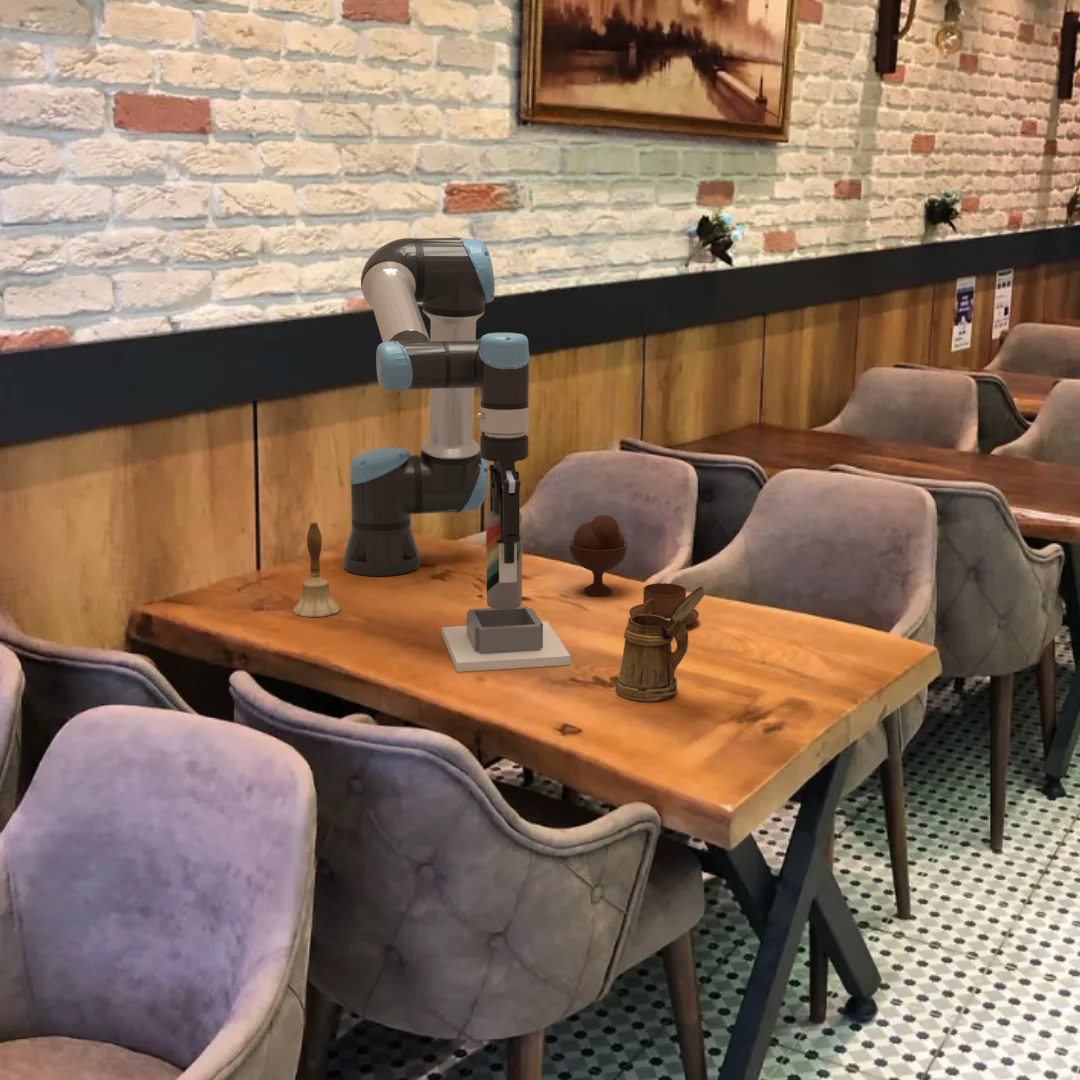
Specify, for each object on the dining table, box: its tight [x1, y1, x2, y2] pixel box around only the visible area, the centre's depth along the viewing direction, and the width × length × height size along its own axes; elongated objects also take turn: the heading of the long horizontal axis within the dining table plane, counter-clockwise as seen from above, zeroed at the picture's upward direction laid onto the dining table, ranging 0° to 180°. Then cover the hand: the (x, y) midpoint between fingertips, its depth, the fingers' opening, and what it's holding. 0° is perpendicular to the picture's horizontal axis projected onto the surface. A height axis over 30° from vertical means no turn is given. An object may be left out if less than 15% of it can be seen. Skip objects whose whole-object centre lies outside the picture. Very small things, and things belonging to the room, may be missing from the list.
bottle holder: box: [441, 605, 572, 673], centre depth 214 cm, size 18×18×6 cm
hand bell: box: [293, 522, 341, 618], centre depth 232 cm, size 8×8×16 cm
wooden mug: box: [614, 586, 705, 703], centre depth 193 cm, size 9×14×18 cm, turn 52°
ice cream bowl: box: [569, 514, 629, 597], centre depth 245 cm, size 11×11×15 cm
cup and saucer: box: [629, 582, 700, 627], centre depth 229 cm, size 12×12×6 cm
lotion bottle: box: [485, 486, 523, 610], centre depth 210 cm, size 6×6×20 cm
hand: (504, 576), depth 211 cm, fingers closed on lotion bottle, 6 cm apart
